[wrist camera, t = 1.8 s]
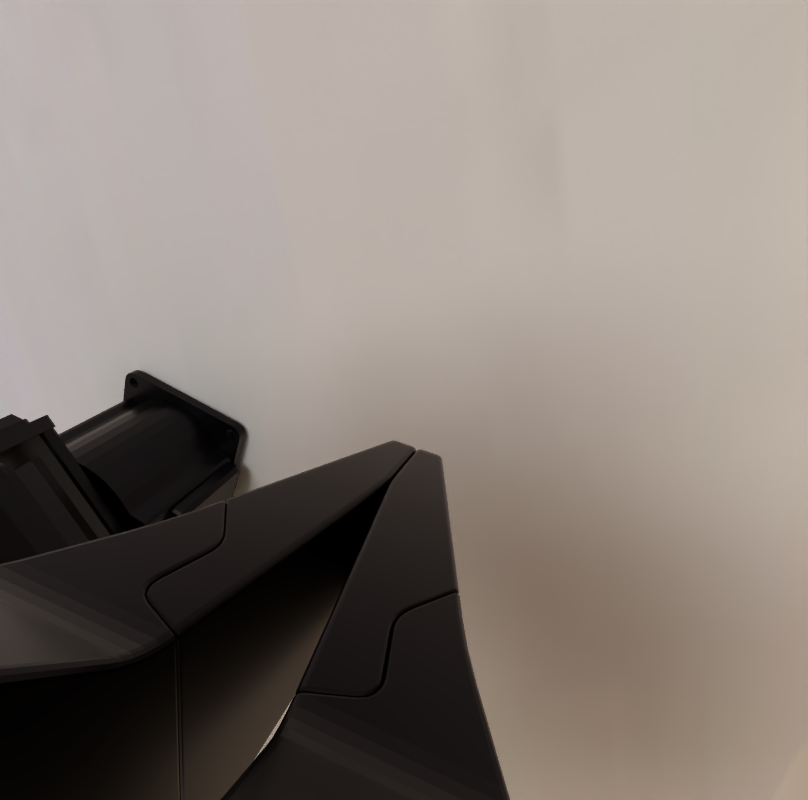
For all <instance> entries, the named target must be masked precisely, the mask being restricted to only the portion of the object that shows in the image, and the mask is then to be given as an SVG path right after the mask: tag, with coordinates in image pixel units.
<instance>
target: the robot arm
mask: <svg viewBox="0 0 808 800" xmlns="http://www.w3.org/2000/svg"><path fill="white" fill-rule="evenodd" d="M137 381H138V382H137ZM53 427H55V425H54V423H53V422H52V420H51V419H50V418H49V416H48V415H46V416H43V417H41V418H39V419H37V420H34V421H32V422H30V423H29V421H28V420H27V419H24V420H23V419H20V418H18V417H16V416H14V415H12V414H11V415H8V416H6V417H4V418H2V419H0V800H510V798H509V794H508V791H507V788H506V784H505V781H504V777H503V774H502V771H501V767H500V764H499V760H498V757H497V753H496V750H495V746H494V743H493V739H492V736H491V732H490V729H489V725H488V722H487V719H486V715H485V712H484V708H483V705H482V701H481V698H480V694H479V691H478V687H477V684H476V680H475V676H474V672H473V668H472V664H471V660H470V656H469V652H468V647H467V641H466V635H465V630H464V624H463V618H462V611H461V603H460V596H459V595H458V594H459V590H458V582H457V574H456V566H455V558H454V551H453V543H452V535H451V527H450V519H449V511H448V504H447V496H446V488H445V480H444V472H443V465H442V459H441V457H440V456H438V455H436V454H433V453H430V452H427V451H424V450H417V451H416V449H415V448H414V447H412V446H409V445H406V444H403V443H400V442H398V441H390V442H387V443H384V444H381V445H379V446H376V447H373V448H370V449H367V450H364V451H362V452H359V453H356V454H353V455H350V456H348V457H345V458H342V459H339V460H336V461H334V462H331V463H328V464H325V465H322V466H319V467H317V468H314V469H311V470H308V471H305V472H303V473H300V474H297V475H294V476H291V477H288V478H286V479H283V480H280V481H277V482H274V483H272V484H269V485H266V486H263V487H260V488H257V489H255V490H252V491H249V492H246V493H243V494H241V495H238V496H235V497H233V495H234V491H235V487H236V483H237V479H238V475H239V469H238V466H237V464H238V460H239V456H240V452H241V448H242V444H243V440H244V434H245V432H244V429H243V427H242V426H241V425H240V424H239V423H237V422H235V421H233V420H232V419H230V418H228V417H226V416H224V415H222V414H220V413H218V412H217V411H215V410H213V409H211V408H209V407H207V406H205V405H204V404H202V403H200V402H198V401H196V400H194V399H192V398H190V397H189V396H187V395H185V394H183V393H181V392H179V391H177V390H175V389H174V388H172V387H170V386H168V385H166V384H164V383H162V382H160V381H159V380H157V379H155V378H153V377H151V376H149V375H147V374H145V373H144V372H142V371H139V370H136V371H133V372H131V373H129V374H127V376H126V379H125V389H124V400H123V402H121V403H119V404H117V405H115V406H113V407H111V408H109V409H107V410H105V411H103V412H102V413H100V414H98V415H96V416H94V417H92V418H90V419H88V420H86V421H84V422H82V423H80V424H78V425H76V426H74V427H72V428H70V429H68V430H66V431H64V432H63V433H61V434H59V435H58V433H57V432H56V431H55V429H54V428H53ZM231 430H232V431H233V432H234V434H235V435H234V434H233V433H232V432H231ZM295 694H296V695H295ZM291 700H292V702H291ZM290 702H291V704H290V706H289V708H288V710H287V712H286V714H285V716H284V718H283V720H282V722H281V724H280V726H279V727H278V729H277V731H276V733H275V734H274V736H273V738H272V739H271V740H270V742H269V743H268V744H267V746H266V747H265V748H264V749H263V750H262V752H261V753H260V754H259V755H258V756H257V754H258V753H259V751H260V749H261V748H262V746H263V745H264V743H265V742H266V740H267V738H268V737H269V735H270V734H271V732H272V730H273V729H274V727H275V726H276V724H277V723H278V721H279V719H280V718H281V716H282V715H283V713H284V711H285V710H286V708H287V707H288V705H289V703H290ZM256 756H257V757H256ZM255 757H256V759H255ZM254 759H255V760H254Z"/></svg>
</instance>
